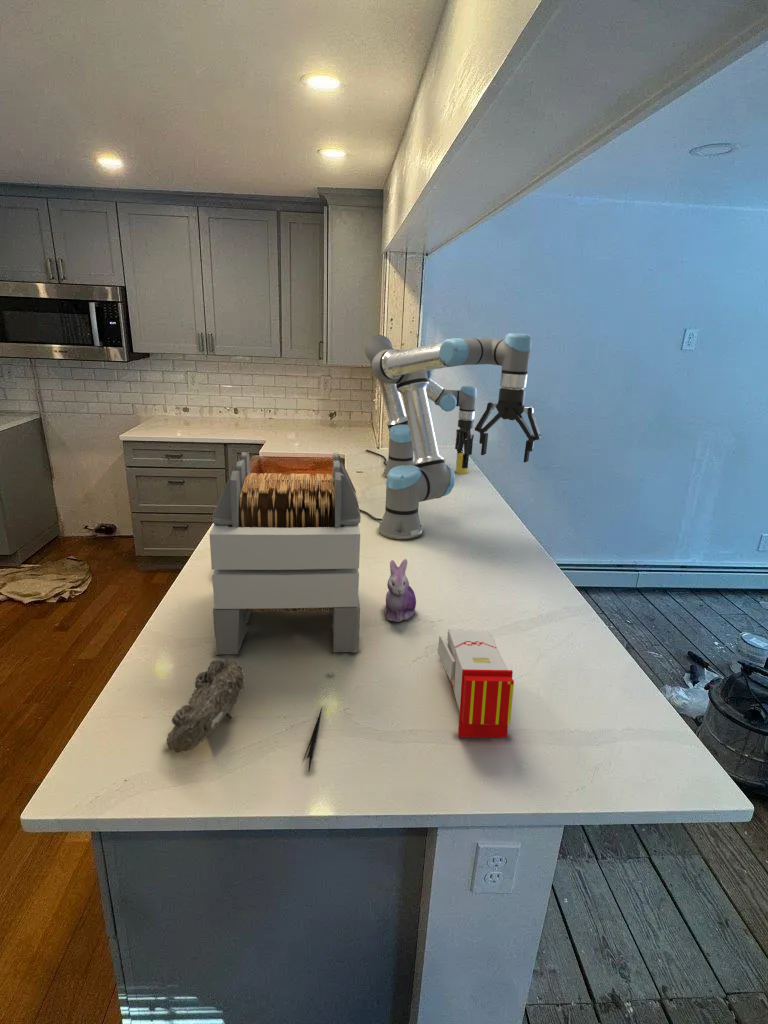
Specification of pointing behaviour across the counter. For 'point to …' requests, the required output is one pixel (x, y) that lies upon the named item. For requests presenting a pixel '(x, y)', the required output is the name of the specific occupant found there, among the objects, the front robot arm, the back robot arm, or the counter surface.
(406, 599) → the figurine
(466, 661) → the toy
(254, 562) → the transformer
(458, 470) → the yellow cylinder
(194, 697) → the fossil
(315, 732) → the feather
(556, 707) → the counter surface
